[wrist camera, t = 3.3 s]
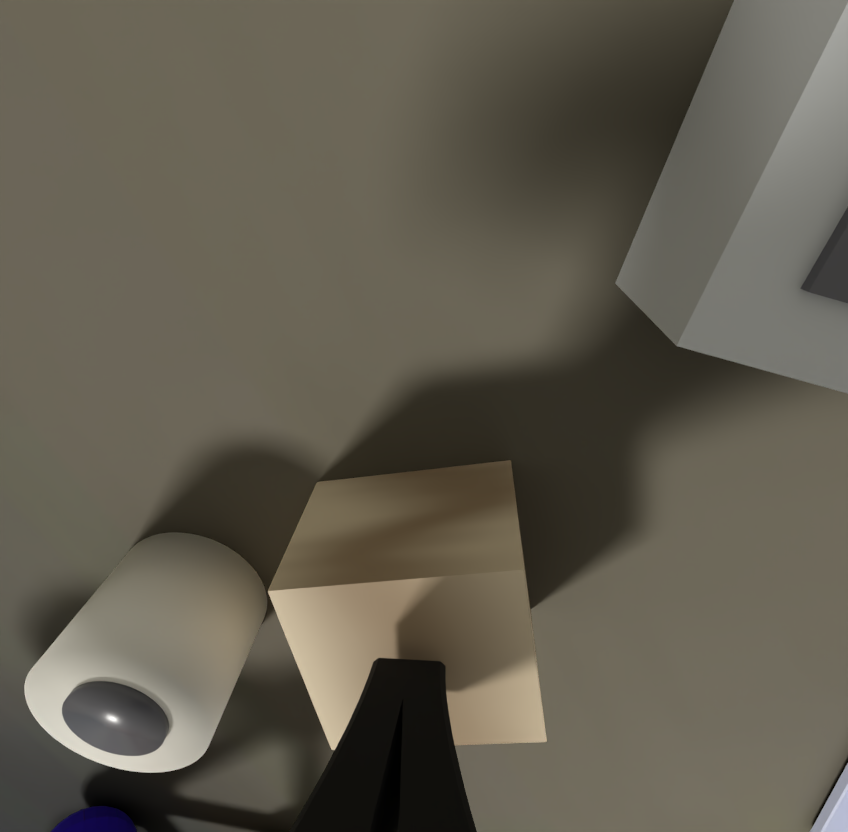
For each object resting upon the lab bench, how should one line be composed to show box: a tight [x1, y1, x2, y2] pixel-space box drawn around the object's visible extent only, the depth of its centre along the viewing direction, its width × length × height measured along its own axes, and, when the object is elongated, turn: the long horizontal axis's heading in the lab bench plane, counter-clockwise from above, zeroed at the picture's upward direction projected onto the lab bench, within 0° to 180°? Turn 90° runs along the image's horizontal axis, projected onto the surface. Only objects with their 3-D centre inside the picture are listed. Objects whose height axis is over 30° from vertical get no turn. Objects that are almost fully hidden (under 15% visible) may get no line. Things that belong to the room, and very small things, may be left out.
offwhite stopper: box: [24, 532, 267, 773], centre depth 15 cm, size 4×4×4 cm
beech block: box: [268, 460, 547, 750], centre depth 13 cm, size 5×5×4 cm
